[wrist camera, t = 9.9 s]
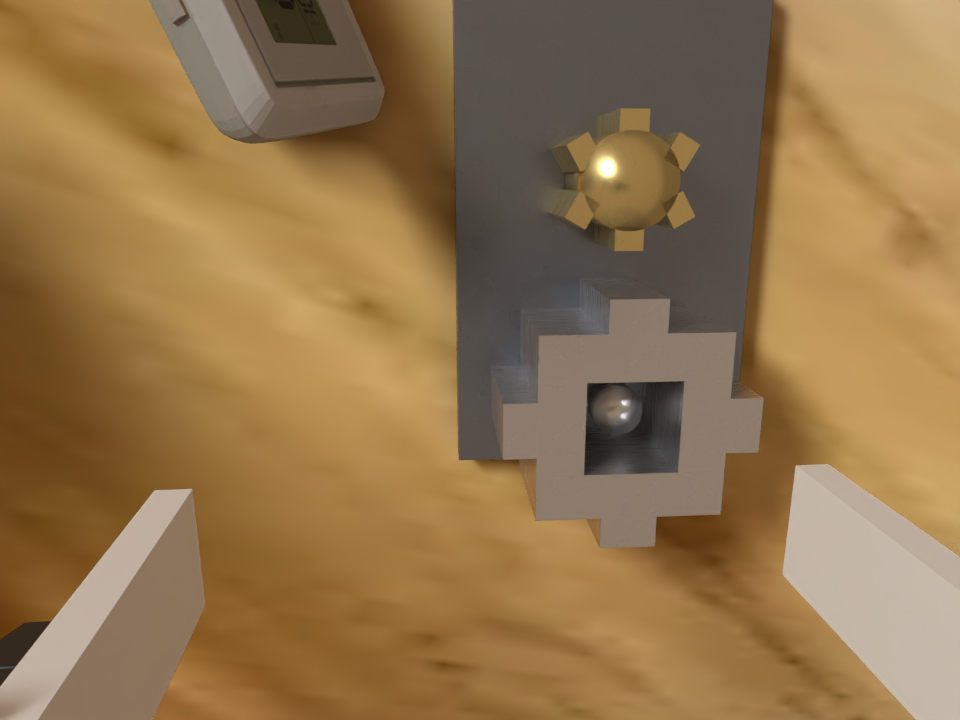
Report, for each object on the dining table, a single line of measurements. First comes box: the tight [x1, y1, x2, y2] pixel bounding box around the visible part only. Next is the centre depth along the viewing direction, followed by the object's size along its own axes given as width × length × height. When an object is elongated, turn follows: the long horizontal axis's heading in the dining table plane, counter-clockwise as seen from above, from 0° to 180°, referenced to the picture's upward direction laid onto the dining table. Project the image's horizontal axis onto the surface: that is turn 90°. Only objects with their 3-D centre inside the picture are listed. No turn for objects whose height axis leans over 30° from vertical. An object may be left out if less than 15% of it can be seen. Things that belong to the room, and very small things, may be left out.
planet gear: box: [491, 278, 764, 548], centre depth 33 cm, size 11×11×6 cm
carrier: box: [453, 0, 773, 460], centre depth 33 cm, size 14×22×6 cm, turn 0°
